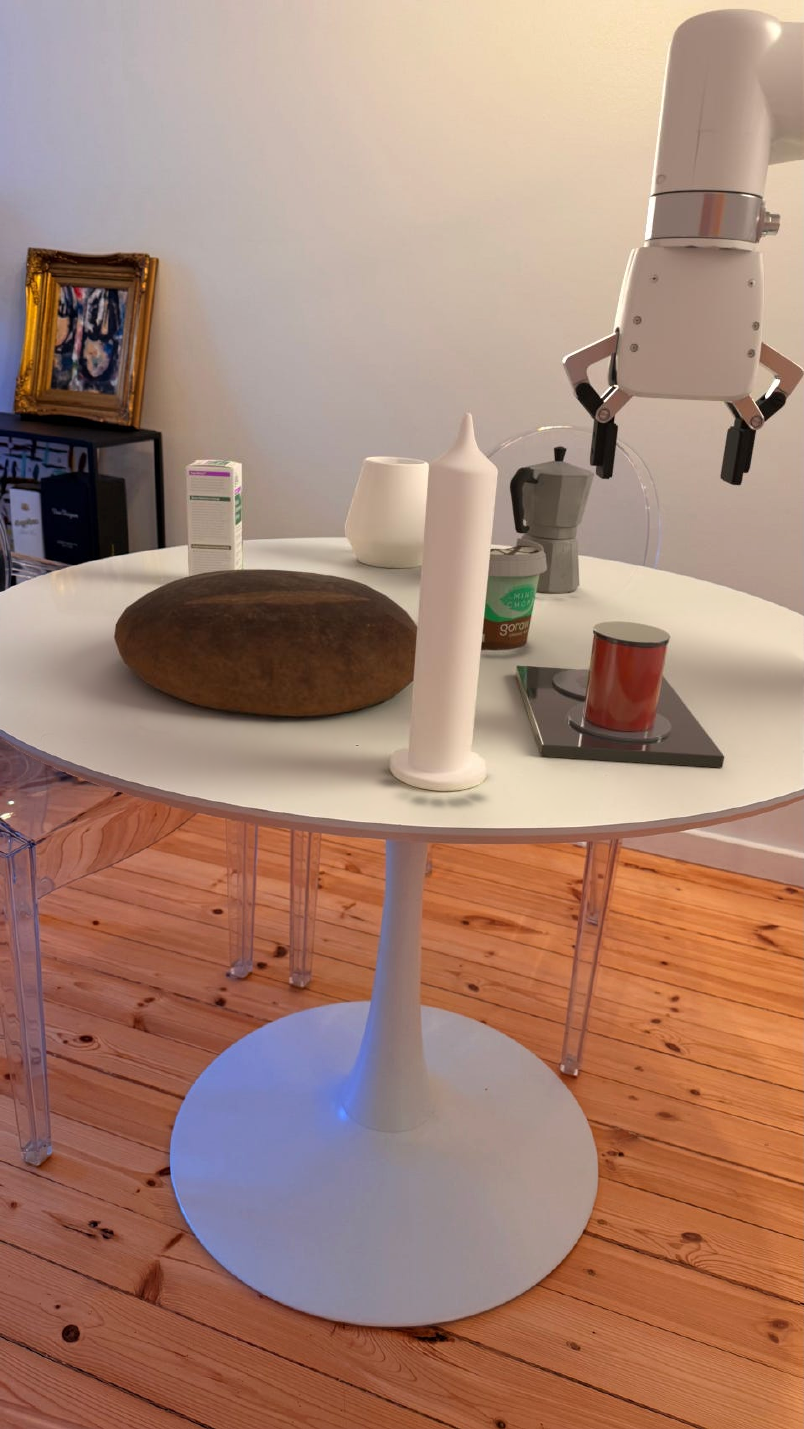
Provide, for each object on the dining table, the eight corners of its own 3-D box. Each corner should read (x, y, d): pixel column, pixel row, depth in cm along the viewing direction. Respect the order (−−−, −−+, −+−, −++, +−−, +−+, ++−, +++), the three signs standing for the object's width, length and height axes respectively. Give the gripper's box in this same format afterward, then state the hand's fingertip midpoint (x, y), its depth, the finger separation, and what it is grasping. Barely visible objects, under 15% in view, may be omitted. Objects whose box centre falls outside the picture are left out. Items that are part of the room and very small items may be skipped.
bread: (103, 632, 99) (99, 545, 96) (361, 622, 108) (365, 543, 105) (137, 737, 74) (133, 624, 71) (468, 712, 84) (477, 612, 81)
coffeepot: (547, 573, 139) (562, 441, 133) (602, 587, 133) (621, 449, 127) (473, 585, 129) (486, 443, 123) (529, 601, 123) (546, 452, 117)
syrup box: (236, 590, 119) (236, 466, 113) (186, 587, 118) (185, 463, 113) (243, 579, 124) (244, 461, 119) (196, 576, 124) (194, 457, 119)
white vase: (338, 567, 134) (343, 462, 129) (347, 548, 147) (351, 452, 142) (437, 574, 134) (445, 469, 129) (437, 555, 146) (445, 458, 142)
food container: (499, 661, 98) (509, 561, 95) (448, 647, 102) (456, 550, 98) (559, 638, 108) (570, 547, 104) (510, 626, 111) (520, 537, 108)
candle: (380, 784, 69) (403, 411, 60) (399, 747, 76) (422, 406, 67) (481, 797, 68) (519, 420, 59) (491, 759, 75) (526, 414, 66)
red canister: (646, 708, 84) (660, 624, 81) (663, 734, 78) (678, 644, 76) (576, 703, 84) (587, 619, 81) (588, 729, 78) (600, 639, 76)
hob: (661, 684, 95) (663, 671, 94) (722, 768, 76) (725, 752, 75) (515, 675, 94) (516, 662, 94) (540, 756, 76) (542, 740, 75)
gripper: (805, 240, 72) (764, 478, 78) (569, 228, 72) (546, 468, 78) (847, 230, 65) (798, 492, 71) (586, 217, 65) (559, 481, 71)
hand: (666, 479), depth 75 cm, fingers open, 9 cm apart
